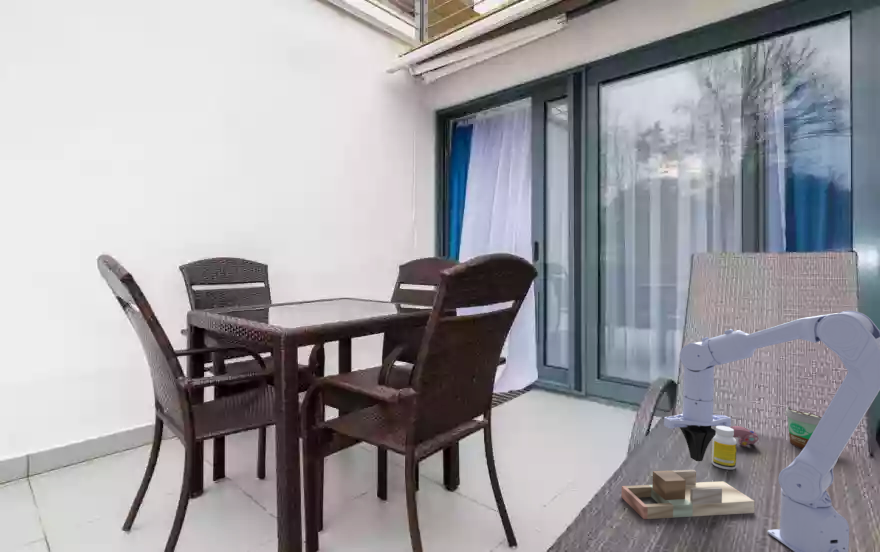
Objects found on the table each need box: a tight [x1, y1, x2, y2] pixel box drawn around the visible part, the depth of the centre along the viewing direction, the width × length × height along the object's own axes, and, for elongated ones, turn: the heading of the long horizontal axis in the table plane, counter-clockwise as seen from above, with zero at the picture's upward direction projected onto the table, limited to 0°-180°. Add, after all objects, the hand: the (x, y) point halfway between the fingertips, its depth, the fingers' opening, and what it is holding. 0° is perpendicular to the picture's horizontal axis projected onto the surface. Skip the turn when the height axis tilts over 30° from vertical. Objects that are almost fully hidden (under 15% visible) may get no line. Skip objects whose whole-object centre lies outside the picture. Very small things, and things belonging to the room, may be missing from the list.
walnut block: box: [652, 470, 686, 500], centre depth 96 cm, size 4×4×4 cm
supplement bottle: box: [710, 426, 738, 470], centre depth 116 cm, size 5×5×10 cm
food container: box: [784, 405, 822, 450], centre depth 129 cm, size 12×6×10 cm, turn 25°
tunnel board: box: [620, 469, 756, 520], centre depth 96 cm, size 9×25×6 cm, turn 97°
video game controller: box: [730, 425, 759, 447], centre depth 130 cm, size 10×5×7 cm, turn 74°
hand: (696, 459), depth 97 cm, fingers closed
